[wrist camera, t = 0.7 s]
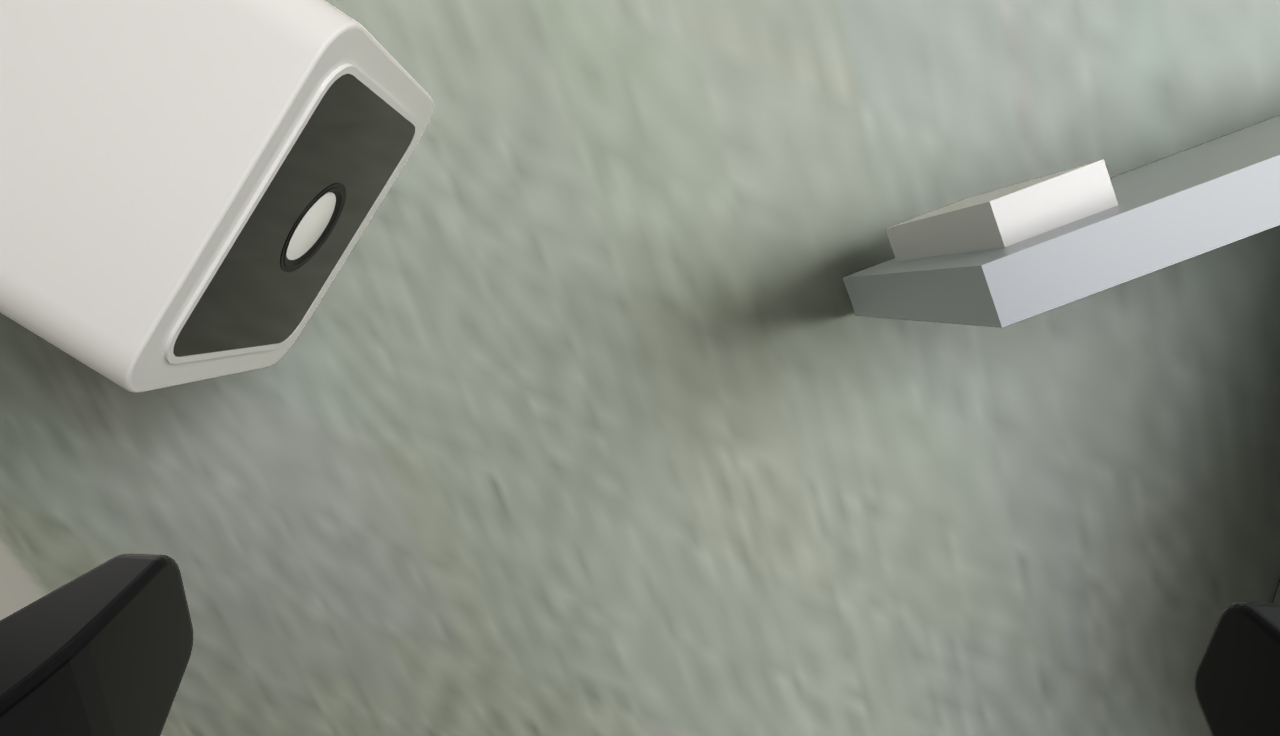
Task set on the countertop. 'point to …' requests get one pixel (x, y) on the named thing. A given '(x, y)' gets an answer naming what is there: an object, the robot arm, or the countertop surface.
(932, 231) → the side door
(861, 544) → the countertop surface
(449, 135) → the countertop surface
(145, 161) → the security camera
